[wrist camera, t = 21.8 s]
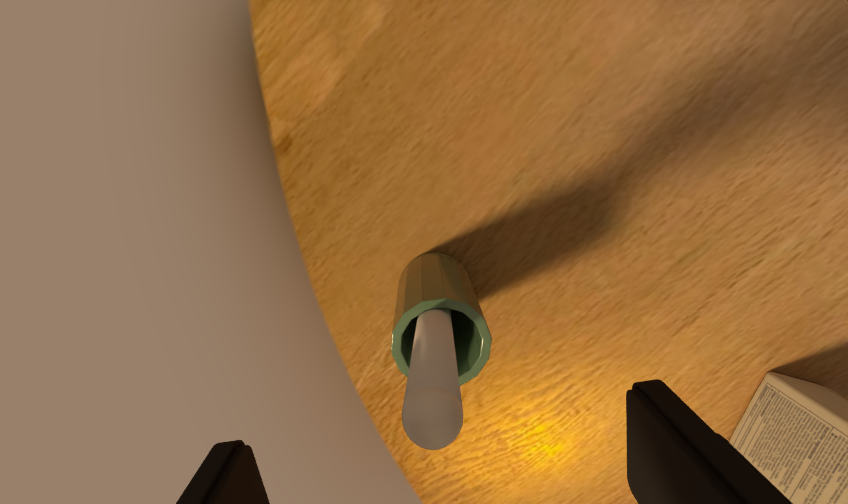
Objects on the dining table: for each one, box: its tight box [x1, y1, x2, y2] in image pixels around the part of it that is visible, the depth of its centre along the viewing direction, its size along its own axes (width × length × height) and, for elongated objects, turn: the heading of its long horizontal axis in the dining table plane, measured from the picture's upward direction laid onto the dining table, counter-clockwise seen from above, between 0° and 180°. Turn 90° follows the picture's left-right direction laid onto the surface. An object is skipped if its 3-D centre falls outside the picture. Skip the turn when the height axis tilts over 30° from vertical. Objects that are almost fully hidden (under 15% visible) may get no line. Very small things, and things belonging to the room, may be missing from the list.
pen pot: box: [391, 253, 492, 386], centre depth 19 cm, size 4×4×7 cm
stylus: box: [402, 307, 463, 450], centre depth 15 cm, size 1×1×14 cm
